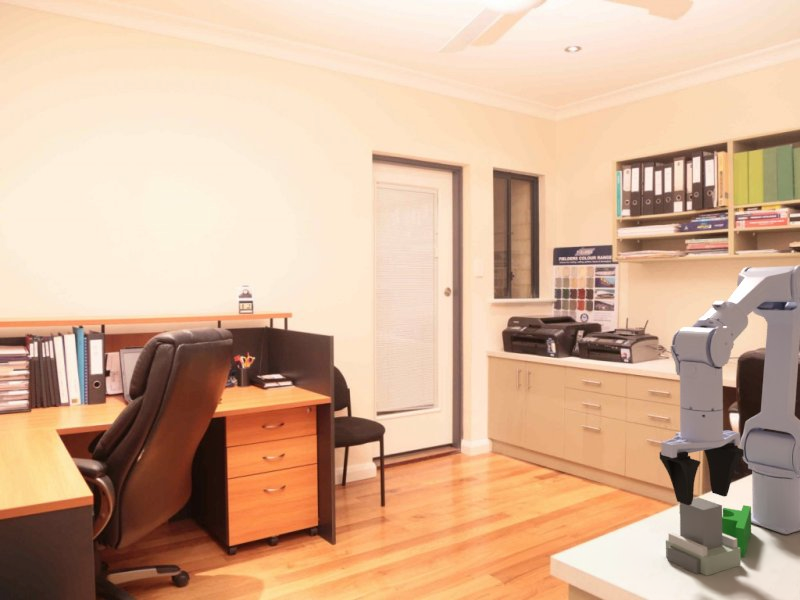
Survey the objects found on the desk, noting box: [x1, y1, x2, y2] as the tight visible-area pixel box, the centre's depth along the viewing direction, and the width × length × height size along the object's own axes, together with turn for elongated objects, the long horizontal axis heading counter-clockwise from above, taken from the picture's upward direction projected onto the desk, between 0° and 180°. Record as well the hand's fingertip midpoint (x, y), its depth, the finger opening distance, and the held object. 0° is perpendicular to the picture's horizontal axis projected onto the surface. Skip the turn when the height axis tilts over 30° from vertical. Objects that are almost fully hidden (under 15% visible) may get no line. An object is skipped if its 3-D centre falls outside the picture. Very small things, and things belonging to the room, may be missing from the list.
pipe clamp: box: [722, 504, 752, 558], centre depth 98 cm, size 11×4×5 cm, turn 145°
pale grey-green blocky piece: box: [665, 532, 742, 577], centre depth 91 cm, size 8×7×4 cm
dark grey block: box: [678, 497, 723, 550], centre depth 92 cm, size 4×5×6 cm
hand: (702, 498), depth 91 cm, fingers open, 7 cm apart
